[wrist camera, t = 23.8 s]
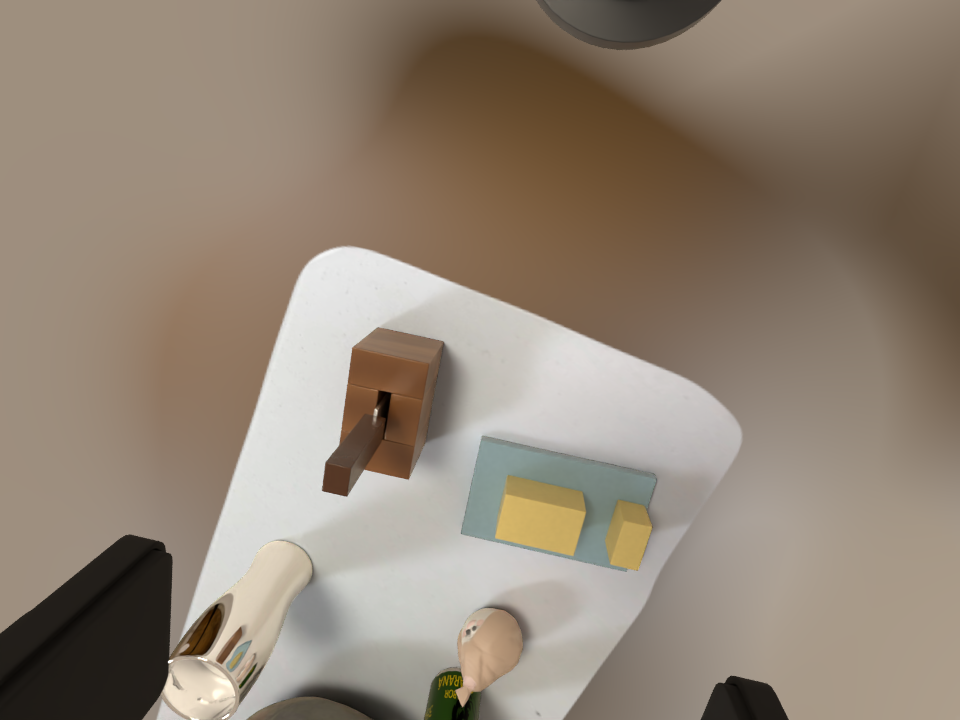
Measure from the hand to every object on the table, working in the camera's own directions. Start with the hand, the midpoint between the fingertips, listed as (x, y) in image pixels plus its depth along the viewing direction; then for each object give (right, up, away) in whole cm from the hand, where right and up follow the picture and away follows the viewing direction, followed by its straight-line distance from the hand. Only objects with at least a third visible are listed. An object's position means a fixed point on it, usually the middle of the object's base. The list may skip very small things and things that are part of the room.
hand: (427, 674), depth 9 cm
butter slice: (+14, -10, +40) cm, 44 cm away
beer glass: (-19, -16, +47) cm, 53 cm away
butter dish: (+8, -8, +42) cm, 43 cm away
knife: (-6, +3, +40) cm, 40 cm away
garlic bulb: (+2, -21, +46) cm, 51 cm away
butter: (+6, -8, +41) cm, 42 cm away
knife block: (-6, +3, +40) cm, 40 cm away
